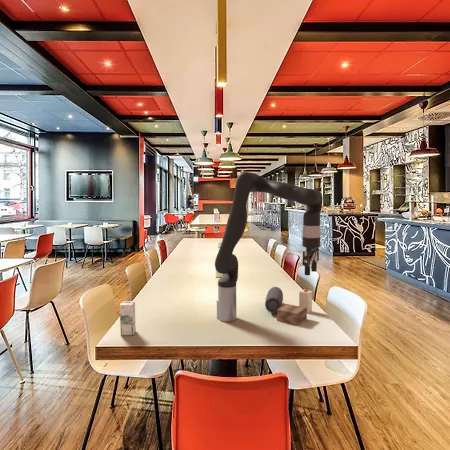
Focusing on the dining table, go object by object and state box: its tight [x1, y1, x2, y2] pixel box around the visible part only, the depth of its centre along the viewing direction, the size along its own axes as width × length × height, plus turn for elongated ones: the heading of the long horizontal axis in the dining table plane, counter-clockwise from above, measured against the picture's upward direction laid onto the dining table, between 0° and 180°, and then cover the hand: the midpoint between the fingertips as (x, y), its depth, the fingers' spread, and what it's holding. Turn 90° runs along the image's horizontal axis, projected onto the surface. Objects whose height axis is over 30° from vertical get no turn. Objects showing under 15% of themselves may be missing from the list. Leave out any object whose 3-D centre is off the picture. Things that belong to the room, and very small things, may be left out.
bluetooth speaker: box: [264, 286, 284, 314], centre depth 191 cm, size 23×9×10 cm, turn 168°
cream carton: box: [298, 288, 313, 315], centre depth 186 cm, size 5×5×12 cm
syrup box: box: [119, 300, 137, 337], centre depth 157 cm, size 6×6×14 cm
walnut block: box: [276, 303, 308, 326], centre depth 173 cm, size 11×11×6 cm
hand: (310, 273), depth 149 cm, fingers open, 8 cm apart
